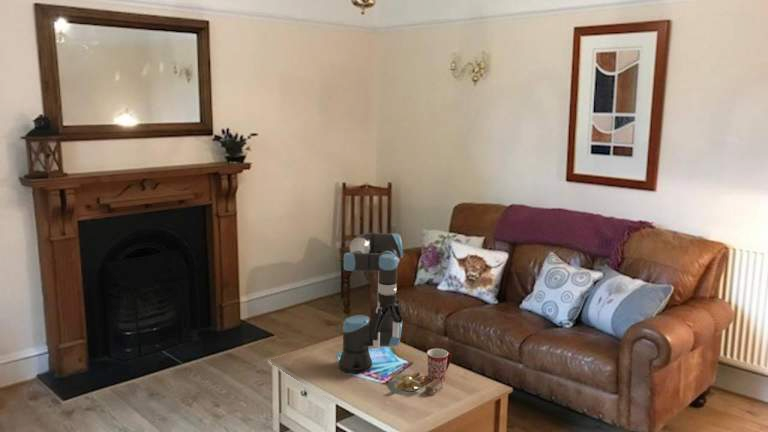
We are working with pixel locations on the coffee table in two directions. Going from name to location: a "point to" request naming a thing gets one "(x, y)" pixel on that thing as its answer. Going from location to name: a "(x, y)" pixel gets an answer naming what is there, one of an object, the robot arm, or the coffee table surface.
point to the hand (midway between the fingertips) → (386, 341)
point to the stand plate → (400, 391)
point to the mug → (438, 364)
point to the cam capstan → (408, 381)
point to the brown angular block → (433, 387)
